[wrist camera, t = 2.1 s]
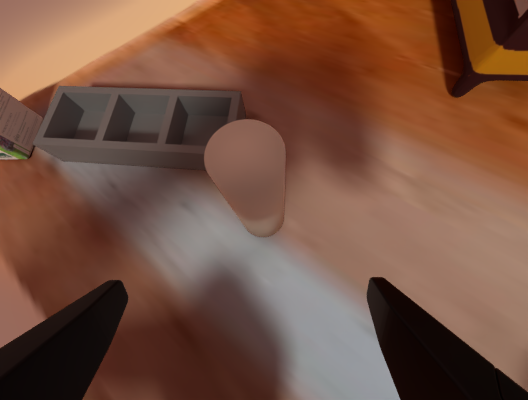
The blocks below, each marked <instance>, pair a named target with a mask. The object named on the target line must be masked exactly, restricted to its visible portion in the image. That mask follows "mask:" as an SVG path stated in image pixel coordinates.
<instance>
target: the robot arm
mask: <svg viewBox="0 0 528 400" xmlns="http://www.w3.org/2000/svg"><path fill="white" fill-rule="evenodd" d="M367 302H368V305H369V309H370V313H371V316H372V320H373V324H374V327H375V331H376V334H377V338H378V341H379V345H380V348H381V351H382V353H383V356H384V358H385V361H386V364H387V366H388V369H389V371H390V374H391V376H392V379H393V382H394V384H395V387H396V389H397V392H398V394H399V397H400V400H528V392H527V391H526V390H524V389H523V388H522V387H521V386H519V385H518V384H517V383H515V382H514V381H513V380H512V379H510V378H509V377H508V376H507V375H505V374H504V373H503V372H502V371H500V370H499V369H498V368H495V367H494V365H493V364H491V363H490V362H489V361H488V360H486V359H485V358H484V357H483V356H481V355H480V354H479V353H478V352H476V351H475V350H474V349H473V348H471V347H470V346H469V345H468V344H466V343H465V342H464V341H462V340H461V339H460V338H459V337H457V336H456V335H455V334H454V333H452V332H451V331H450V330H449V329H447V328H446V327H445V326H444V325H442V324H441V323H440V322H439V321H437V320H436V319H435V318H434V317H432V316H431V315H430V314H429V313H427V312H426V311H425V310H424V309H422V308H421V307H420V306H419V305H417V304H416V303H415V302H414V301H412V300H411V299H410V298H408V297H407V296H406V295H405V294H403V293H402V292H401V291H400V290H398V289H397V288H396V287H395V286H393V285H392V284H391V283H390V282H388V281H387V280H386V279H385V278H383V277H371V278H370V280H369V284H368V290H367ZM127 303H128V294H127V292H126V289H125V287H124V285H123V282H122V281H121V280H109V281H107V282H105V283H104V284H102V285H100V286H99V287H97V288H96V289H94V290H92V291H91V292H89V293H88V294H86V295H84V296H83V297H81V298H80V299H78V300H76V301H75V302H73V303H72V304H70V305H68V306H67V307H65V308H64V309H62V310H61V311H59V312H57V313H56V314H54V315H53V316H51V317H49V318H48V319H46V320H45V321H43V322H41V323H40V324H38V325H37V326H35V327H33V328H32V329H31V330H29V331H27V332H25V333H24V334H22V335H21V336H19V337H18V338H16V339H14V340H13V341H11V342H9V343H8V344H6V345H5V346H3V347H1V348H0V400H82V399H83V397H84V395H85V393H86V391H87V389H88V387H89V385H90V383H91V381H92V379H93V377H94V375H95V374H96V372H97V370H98V368H99V366H100V364H101V362H102V360H103V358H104V356H105V354H106V352H107V350H108V348H109V346H110V344H111V342H112V339H113V337H114V335H115V332H116V330H117V327H118V325H119V322H120V320H121V317H122V315H123V313H124V310H125V308H126V305H127Z"/></svg>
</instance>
